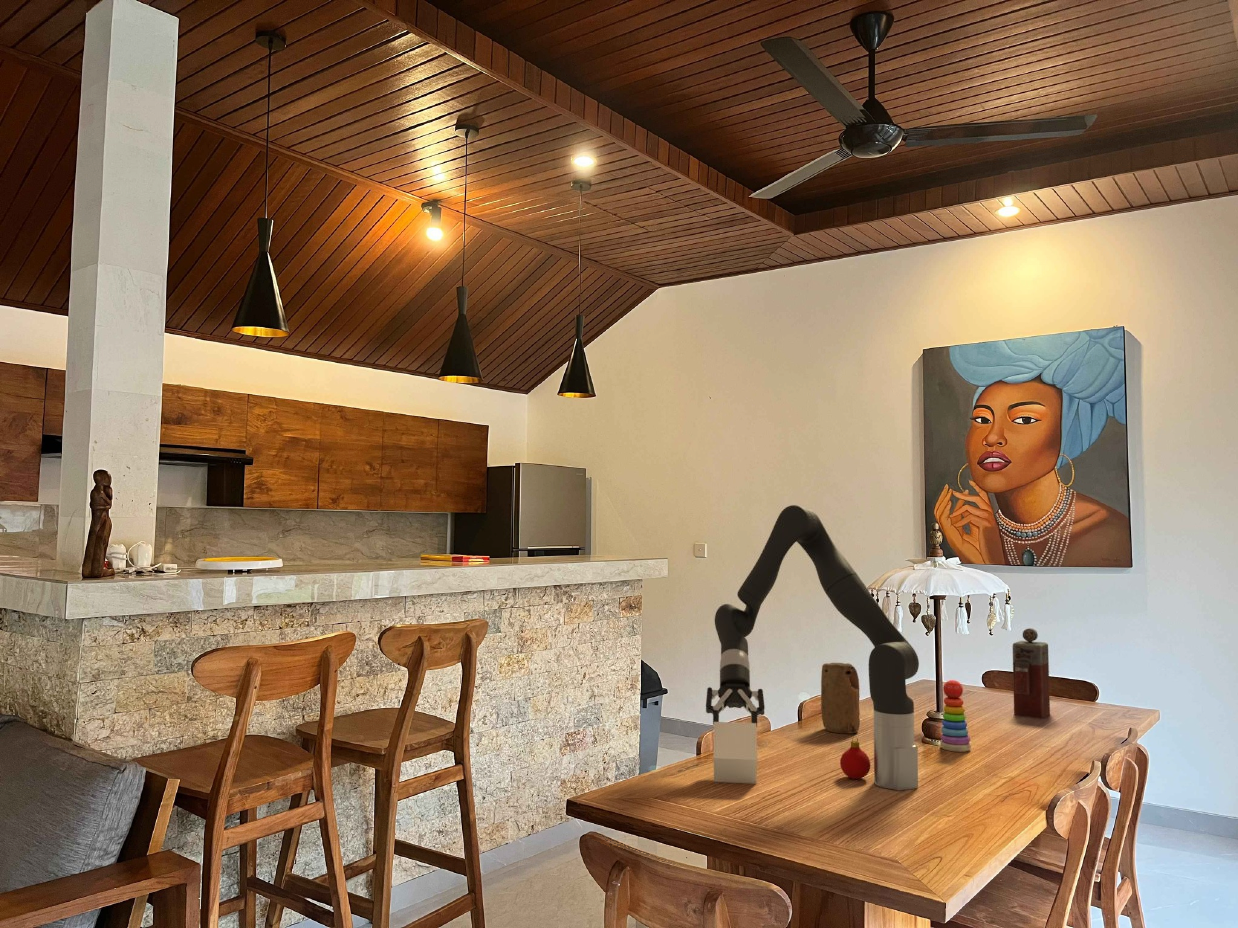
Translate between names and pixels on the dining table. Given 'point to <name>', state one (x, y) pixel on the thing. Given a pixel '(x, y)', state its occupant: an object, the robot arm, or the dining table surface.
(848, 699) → the block
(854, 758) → the christmas ornament
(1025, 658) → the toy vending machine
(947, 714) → the stacking toy
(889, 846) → the dining table surface
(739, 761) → the plain beige cube
